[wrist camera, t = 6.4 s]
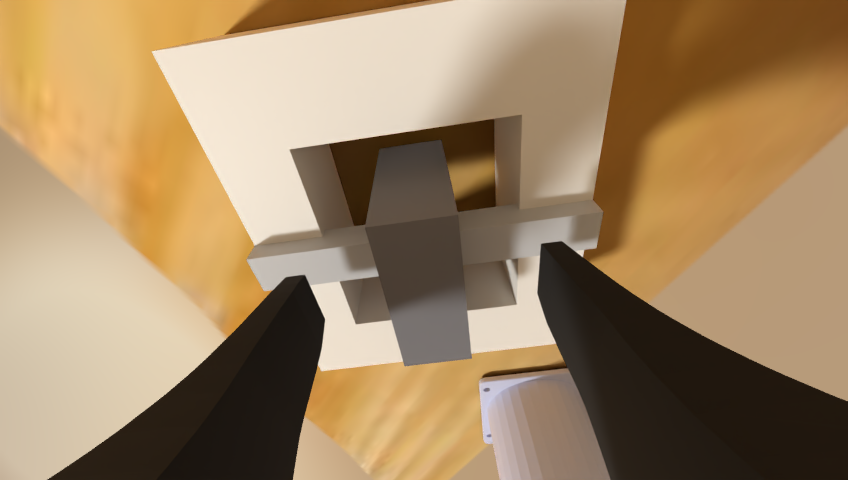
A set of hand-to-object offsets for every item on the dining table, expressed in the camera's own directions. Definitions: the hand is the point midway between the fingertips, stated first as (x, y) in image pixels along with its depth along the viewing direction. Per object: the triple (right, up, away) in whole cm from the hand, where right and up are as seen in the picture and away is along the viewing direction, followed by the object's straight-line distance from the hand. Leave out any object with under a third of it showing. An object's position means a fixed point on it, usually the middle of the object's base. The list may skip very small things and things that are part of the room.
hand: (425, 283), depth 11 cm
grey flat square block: (0, +3, +4) cm, 5 cm away
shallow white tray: (0, +4, +5) cm, 6 cm away
